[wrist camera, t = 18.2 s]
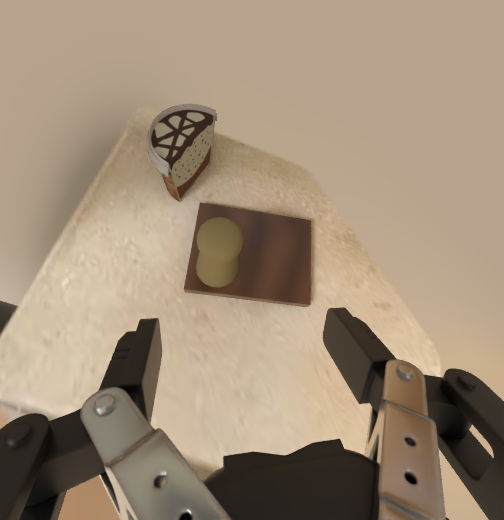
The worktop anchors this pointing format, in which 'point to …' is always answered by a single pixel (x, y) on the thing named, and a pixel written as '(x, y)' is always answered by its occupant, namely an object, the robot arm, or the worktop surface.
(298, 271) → the cutting board
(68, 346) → the worktop surface
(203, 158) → the food container
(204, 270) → the cork
